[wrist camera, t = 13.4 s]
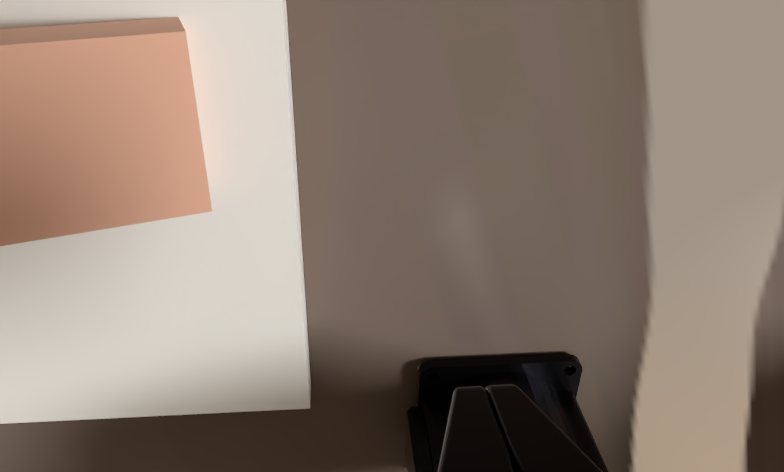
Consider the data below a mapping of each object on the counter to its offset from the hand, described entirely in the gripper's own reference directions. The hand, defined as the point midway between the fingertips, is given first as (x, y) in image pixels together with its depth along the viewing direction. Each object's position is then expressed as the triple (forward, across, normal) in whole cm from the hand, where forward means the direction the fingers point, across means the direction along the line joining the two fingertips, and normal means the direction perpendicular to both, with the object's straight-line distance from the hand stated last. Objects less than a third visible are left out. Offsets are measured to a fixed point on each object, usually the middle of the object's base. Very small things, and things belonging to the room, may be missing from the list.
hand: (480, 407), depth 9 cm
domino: (+11, +6, 0) cm, 12 cm away
